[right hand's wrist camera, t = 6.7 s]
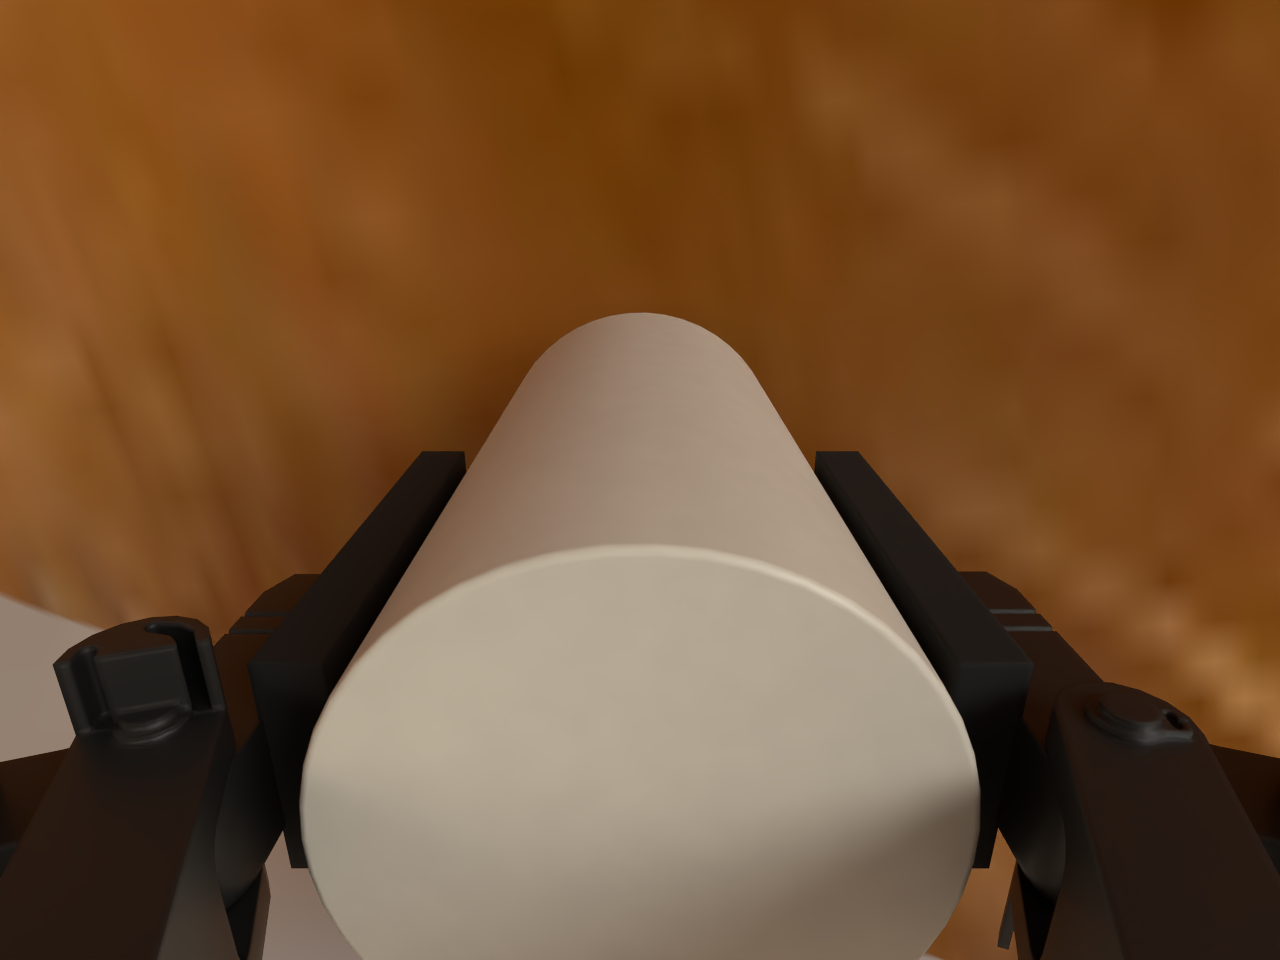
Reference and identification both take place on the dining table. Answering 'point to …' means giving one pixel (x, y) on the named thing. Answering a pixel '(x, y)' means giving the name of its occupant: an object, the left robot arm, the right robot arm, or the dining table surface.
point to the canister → (640, 697)
